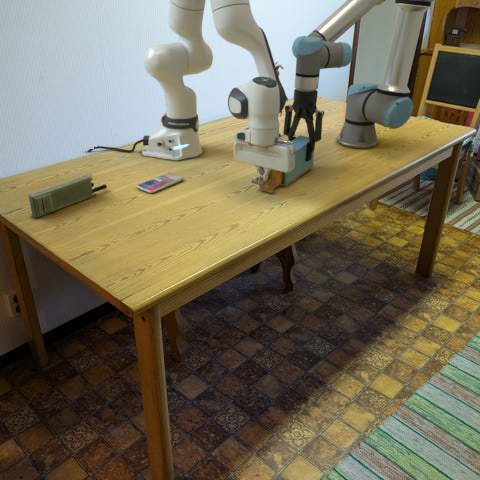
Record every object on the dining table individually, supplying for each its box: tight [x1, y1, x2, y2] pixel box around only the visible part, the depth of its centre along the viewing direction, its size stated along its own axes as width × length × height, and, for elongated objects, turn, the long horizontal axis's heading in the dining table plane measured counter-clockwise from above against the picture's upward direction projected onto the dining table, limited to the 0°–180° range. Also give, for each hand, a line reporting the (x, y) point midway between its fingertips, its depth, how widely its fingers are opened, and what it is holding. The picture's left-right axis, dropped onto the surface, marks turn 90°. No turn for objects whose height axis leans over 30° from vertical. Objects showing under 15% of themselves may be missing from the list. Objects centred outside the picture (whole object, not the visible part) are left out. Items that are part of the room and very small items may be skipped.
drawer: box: [251, 167, 284, 194], centre depth 162 cm, size 23×4×8 cm, turn 145°
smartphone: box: [136, 172, 184, 194], centre depth 164 cm, size 7×1×15 cm
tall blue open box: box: [279, 135, 315, 188], centre depth 169 cm, size 19×6×10 cm, turn 145°
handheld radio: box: [28, 173, 108, 219], centre depth 150 cm, size 7×3×25 cm
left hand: (263, 179), depth 155 cm, fingers closed, pressing on drawer
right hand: (299, 158), depth 173 cm, fingers closed on tall blue open box, 6 cm apart
